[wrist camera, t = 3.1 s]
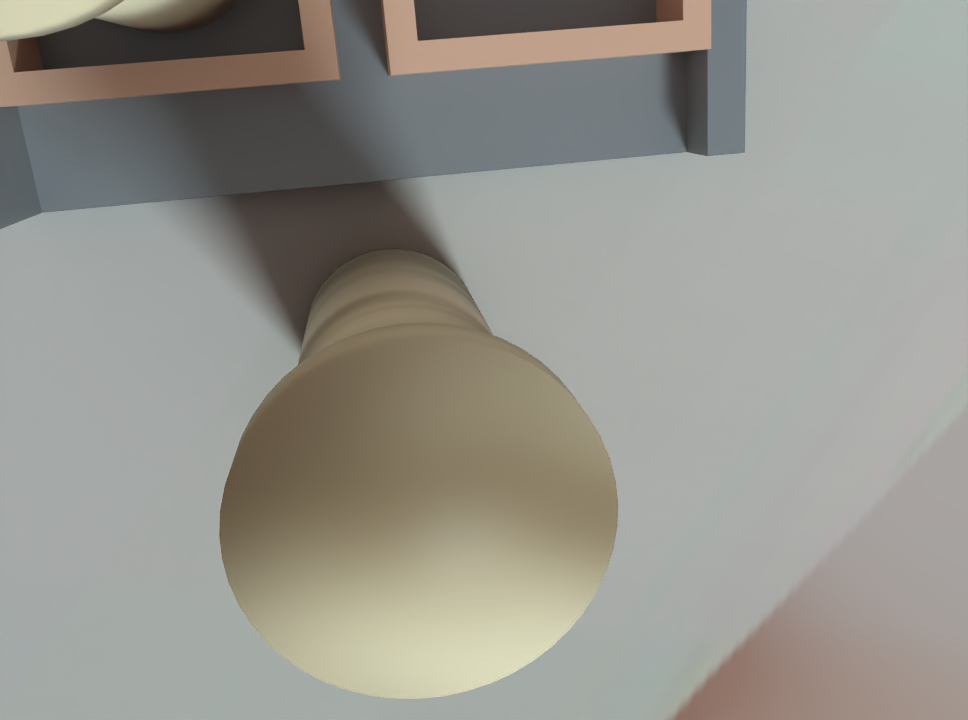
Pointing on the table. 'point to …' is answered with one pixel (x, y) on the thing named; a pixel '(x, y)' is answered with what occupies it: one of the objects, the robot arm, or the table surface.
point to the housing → (349, 92)
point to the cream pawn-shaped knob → (414, 493)
